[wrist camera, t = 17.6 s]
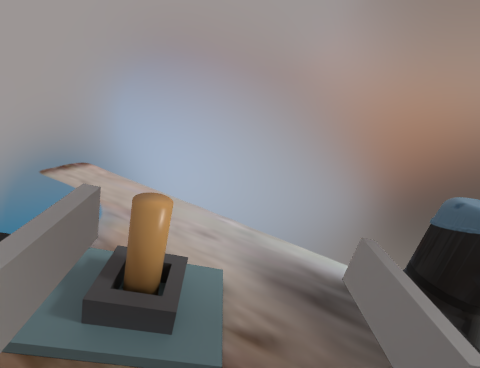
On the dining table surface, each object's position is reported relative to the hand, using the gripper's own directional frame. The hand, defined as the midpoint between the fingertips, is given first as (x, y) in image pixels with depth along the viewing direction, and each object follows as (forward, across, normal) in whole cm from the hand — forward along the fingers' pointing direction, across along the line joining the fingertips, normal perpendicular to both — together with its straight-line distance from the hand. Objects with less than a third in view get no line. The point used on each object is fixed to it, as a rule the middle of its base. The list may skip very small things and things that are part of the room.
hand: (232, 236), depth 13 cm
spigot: (+16, -7, -21) cm, 28 cm away
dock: (+16, -7, -23) cm, 29 cm away
